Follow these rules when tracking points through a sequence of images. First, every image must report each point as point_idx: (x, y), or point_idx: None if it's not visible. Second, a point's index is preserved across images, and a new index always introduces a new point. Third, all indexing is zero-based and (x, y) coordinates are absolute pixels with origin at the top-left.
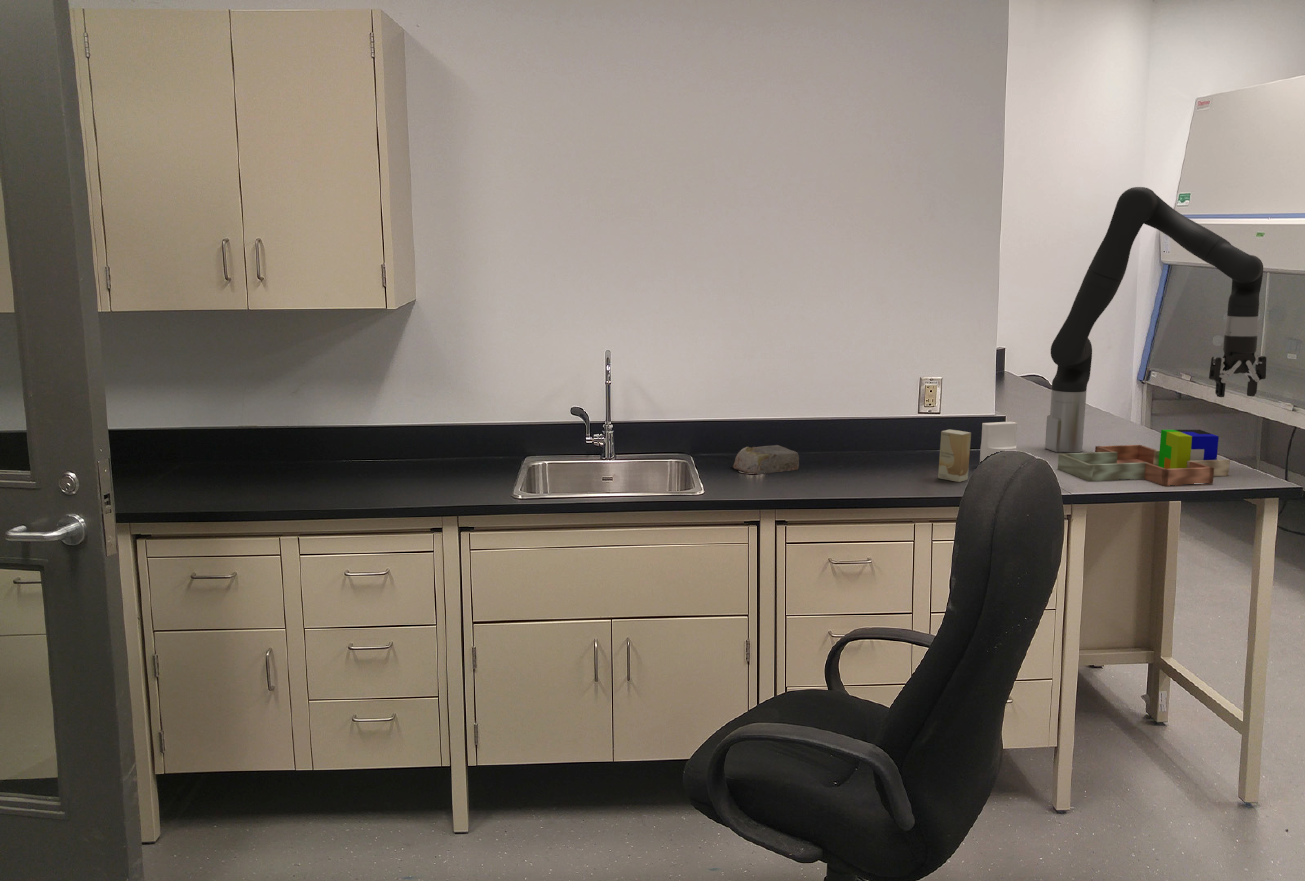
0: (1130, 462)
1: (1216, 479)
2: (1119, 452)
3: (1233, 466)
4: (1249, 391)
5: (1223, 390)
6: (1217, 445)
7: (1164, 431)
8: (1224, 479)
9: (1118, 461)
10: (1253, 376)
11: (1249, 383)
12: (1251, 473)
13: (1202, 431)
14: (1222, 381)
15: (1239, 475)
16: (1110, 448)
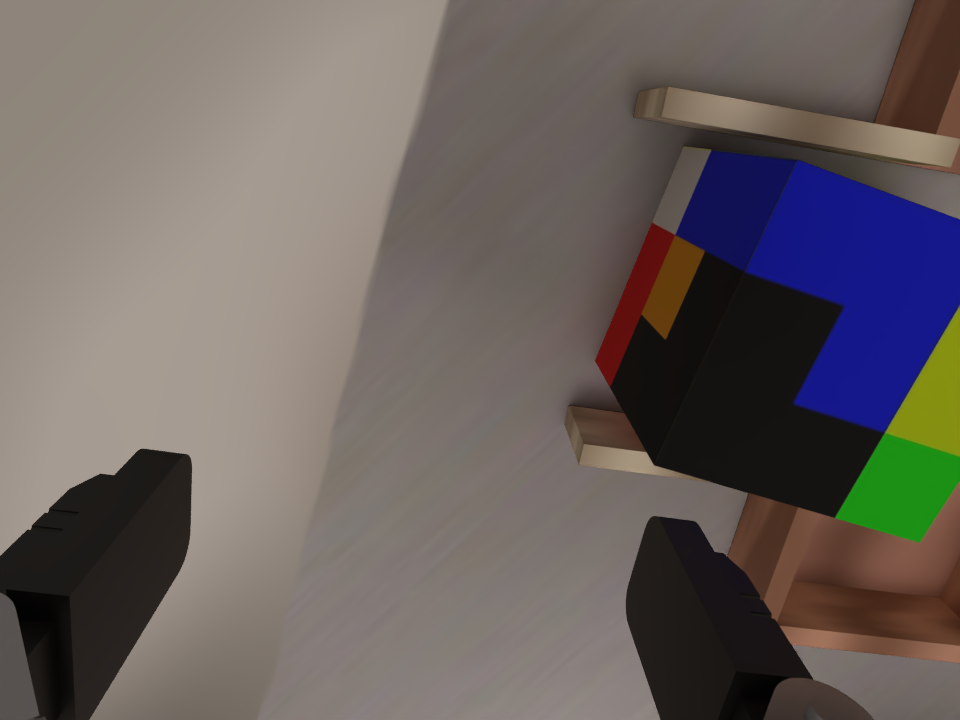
0: None
1: (796, 26)
2: (864, 612)
3: (391, 301)
4: (162, 551)
5: (714, 574)
6: (764, 156)
7: (945, 494)
8: (752, 8)
9: (885, 553)
10: (6, 707)
11: (94, 669)
12: (446, 101)
13: (709, 393)
14: (838, 704)
15: (565, 77)
16: (930, 635)
